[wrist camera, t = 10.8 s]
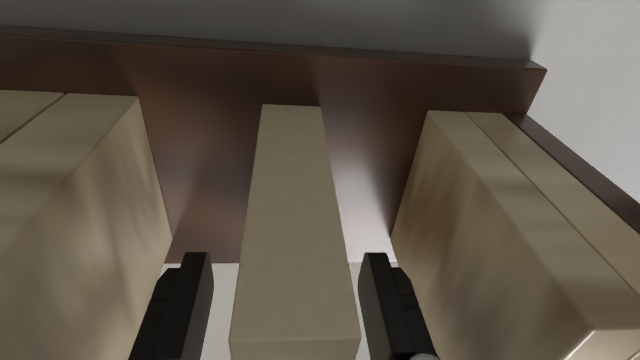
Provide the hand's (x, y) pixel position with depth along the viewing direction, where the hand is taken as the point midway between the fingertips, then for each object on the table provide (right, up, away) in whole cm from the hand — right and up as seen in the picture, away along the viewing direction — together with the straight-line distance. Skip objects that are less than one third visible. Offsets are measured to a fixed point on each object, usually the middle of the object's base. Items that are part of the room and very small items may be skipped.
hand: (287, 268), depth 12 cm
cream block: (0, +3, +4) cm, 5 cm away
